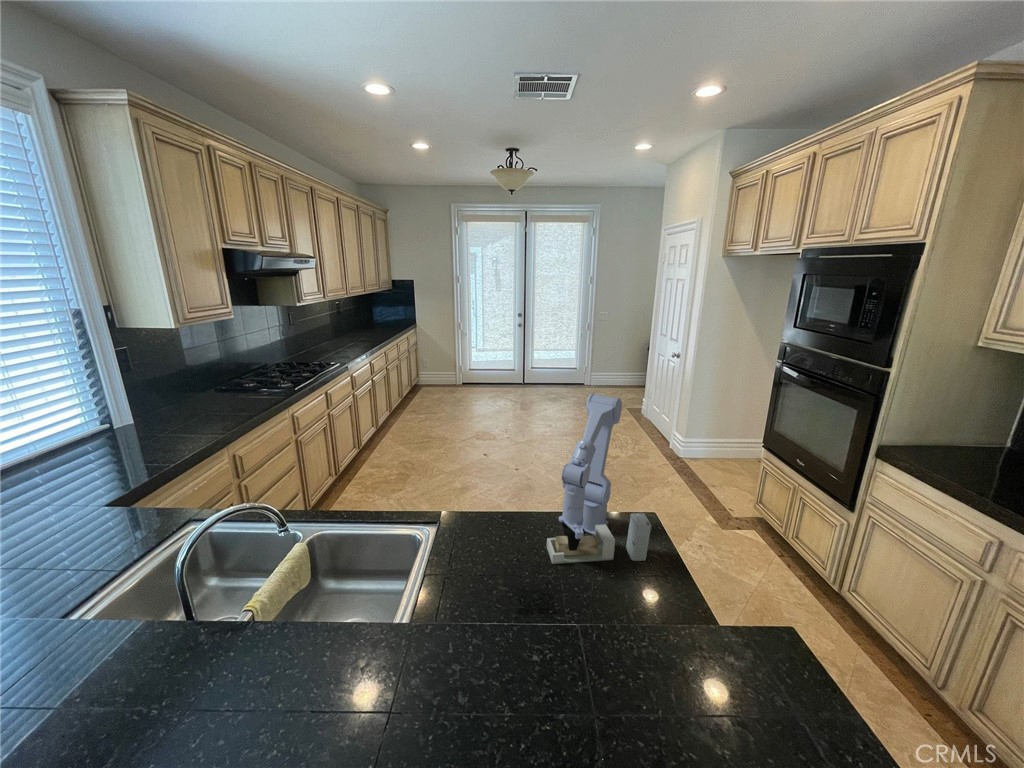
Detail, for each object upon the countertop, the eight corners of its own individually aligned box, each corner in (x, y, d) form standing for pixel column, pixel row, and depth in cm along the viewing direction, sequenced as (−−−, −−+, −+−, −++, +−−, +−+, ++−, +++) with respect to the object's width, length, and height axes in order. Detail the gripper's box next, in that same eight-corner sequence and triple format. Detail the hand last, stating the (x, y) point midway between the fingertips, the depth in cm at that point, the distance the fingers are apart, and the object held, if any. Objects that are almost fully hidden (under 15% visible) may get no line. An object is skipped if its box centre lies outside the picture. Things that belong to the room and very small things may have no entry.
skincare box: (625, 547, 122) (629, 512, 118) (639, 547, 122) (644, 512, 119) (632, 561, 116) (636, 524, 113) (647, 561, 116) (651, 524, 113)
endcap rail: (604, 543, 123) (605, 524, 122) (613, 559, 116) (615, 539, 114) (546, 546, 121) (547, 527, 119) (552, 564, 114) (553, 543, 112)
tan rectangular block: (593, 547, 121) (594, 535, 120) (597, 554, 117) (598, 542, 116) (554, 547, 119) (555, 536, 118) (557, 555, 116) (558, 543, 115)
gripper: (554, 491, 121) (551, 531, 124) (566, 519, 107) (563, 562, 110) (576, 490, 121) (573, 529, 125) (592, 517, 108) (588, 561, 111)
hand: (570, 545), depth 117 cm, fingers closed on tan rectangular block, 3 cm apart
